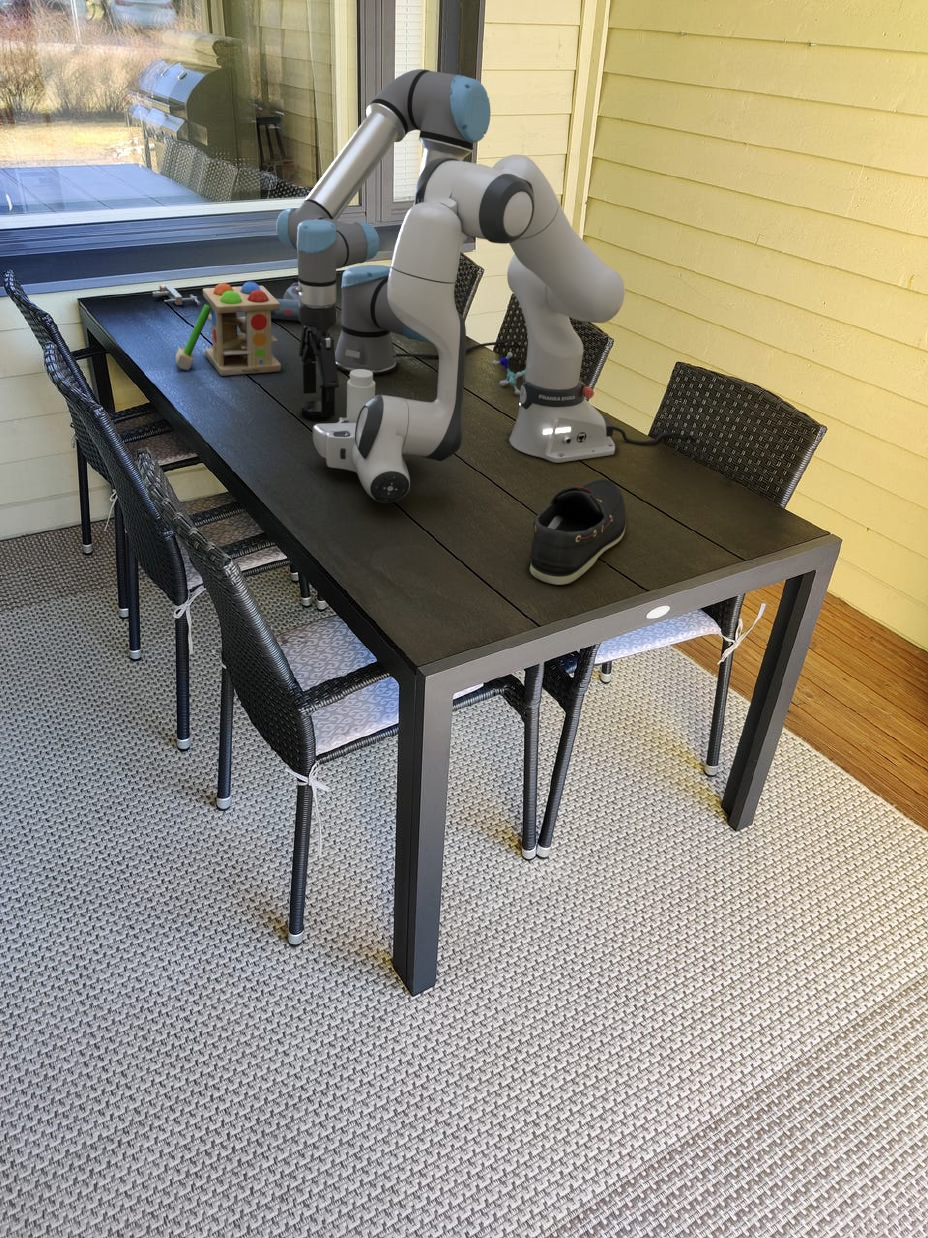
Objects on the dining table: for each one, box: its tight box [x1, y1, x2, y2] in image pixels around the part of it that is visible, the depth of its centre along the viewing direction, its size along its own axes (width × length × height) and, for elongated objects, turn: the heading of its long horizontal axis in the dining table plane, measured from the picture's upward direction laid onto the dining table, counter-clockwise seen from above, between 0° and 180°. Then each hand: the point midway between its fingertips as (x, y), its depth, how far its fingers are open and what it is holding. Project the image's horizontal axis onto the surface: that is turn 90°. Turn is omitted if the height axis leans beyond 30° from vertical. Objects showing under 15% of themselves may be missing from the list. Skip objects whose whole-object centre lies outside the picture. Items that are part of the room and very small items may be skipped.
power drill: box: [271, 282, 338, 322], centre depth 265 cm, size 5×19×20 cm
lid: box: [301, 400, 330, 422], centre depth 210 cm, size 6×6×2 cm
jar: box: [346, 369, 376, 423], centre depth 193 cm, size 5×5×16 cm
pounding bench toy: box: [174, 281, 282, 377], centre depth 225 cm, size 23×14×18 cm, turn 116°
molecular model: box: [491, 351, 527, 396], centre depth 231 cm, size 12×10×10 cm
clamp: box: [152, 284, 202, 306], centre depth 265 cm, size 15×2×10 cm
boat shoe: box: [529, 479, 627, 586], centre depth 172 cm, size 13×33×10 cm, turn 147°
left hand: (318, 403), depth 210 cm, fingers open, 12 cm apart
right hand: (359, 420), depth 195 cm, fingers closed on jar, 5 cm apart
